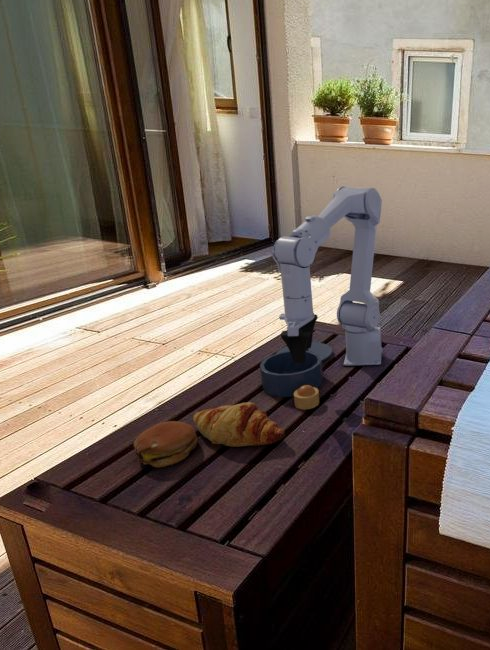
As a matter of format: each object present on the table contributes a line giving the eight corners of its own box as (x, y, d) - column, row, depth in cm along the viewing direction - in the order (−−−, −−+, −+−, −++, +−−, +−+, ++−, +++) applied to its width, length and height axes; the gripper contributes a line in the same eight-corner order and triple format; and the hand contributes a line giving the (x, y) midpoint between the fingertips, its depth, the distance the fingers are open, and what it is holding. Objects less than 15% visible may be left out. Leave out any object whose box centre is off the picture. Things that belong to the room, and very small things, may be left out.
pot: (326, 369, 118) (324, 349, 117) (317, 395, 106) (316, 374, 104) (271, 370, 117) (268, 350, 116) (255, 397, 105) (252, 376, 103)
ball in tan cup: (321, 397, 105) (319, 379, 104) (317, 409, 100) (316, 391, 99) (297, 397, 105) (295, 380, 103) (292, 410, 100) (290, 392, 98)
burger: (198, 432, 92) (194, 411, 90) (197, 460, 84) (193, 437, 82) (139, 445, 88) (134, 423, 86) (133, 475, 80) (127, 452, 78)
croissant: (187, 447, 93) (164, 426, 87) (216, 404, 99) (197, 382, 94) (279, 467, 86) (260, 446, 81) (303, 420, 93) (288, 397, 87)
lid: (335, 344, 133) (334, 328, 131) (328, 367, 119) (327, 349, 118) (282, 346, 132) (280, 329, 130) (269, 369, 118) (267, 350, 116)
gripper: (285, 285, 104) (291, 342, 108) (268, 306, 90) (275, 370, 94) (318, 285, 104) (322, 341, 109) (306, 305, 91) (311, 369, 95)
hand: (302, 354), depth 102 cm, fingers open, 7 cm apart
